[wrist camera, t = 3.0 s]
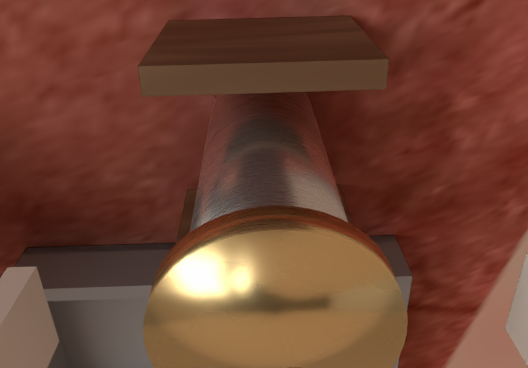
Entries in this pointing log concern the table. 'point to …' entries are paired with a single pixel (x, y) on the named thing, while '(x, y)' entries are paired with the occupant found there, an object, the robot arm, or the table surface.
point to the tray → (121, 298)
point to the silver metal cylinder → (272, 256)
